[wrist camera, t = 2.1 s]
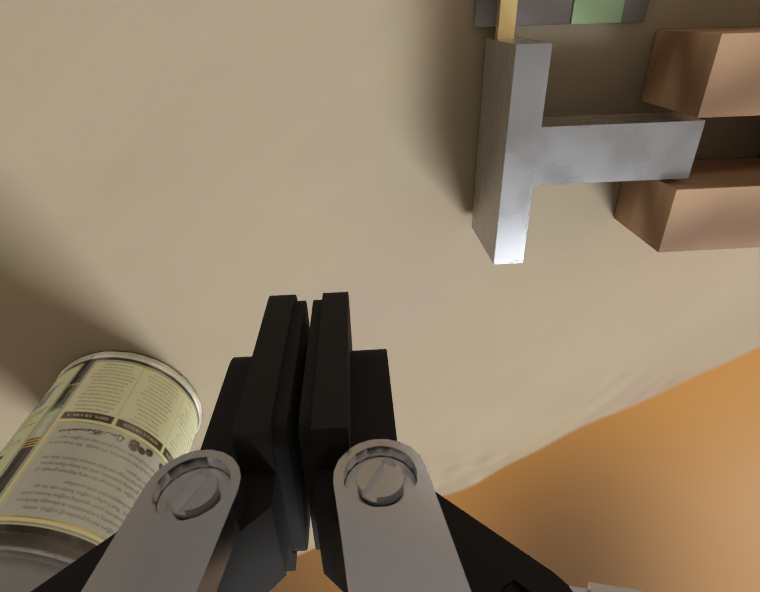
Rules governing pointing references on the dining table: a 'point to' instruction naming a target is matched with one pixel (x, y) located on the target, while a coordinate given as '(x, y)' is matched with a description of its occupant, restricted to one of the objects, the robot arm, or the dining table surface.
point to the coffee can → (87, 460)
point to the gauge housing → (688, 96)
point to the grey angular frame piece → (555, 141)
